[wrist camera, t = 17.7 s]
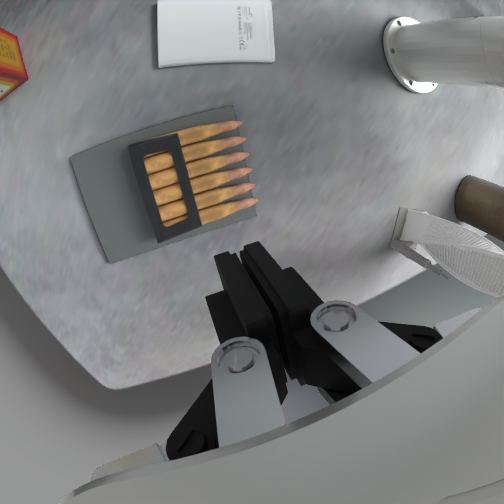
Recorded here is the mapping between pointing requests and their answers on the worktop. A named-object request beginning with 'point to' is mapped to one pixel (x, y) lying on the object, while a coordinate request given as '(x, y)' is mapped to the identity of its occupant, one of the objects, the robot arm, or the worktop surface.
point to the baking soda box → (10, 64)
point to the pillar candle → (481, 205)
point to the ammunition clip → (188, 178)
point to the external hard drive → (214, 32)
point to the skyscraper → (450, 250)
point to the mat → (128, 193)
